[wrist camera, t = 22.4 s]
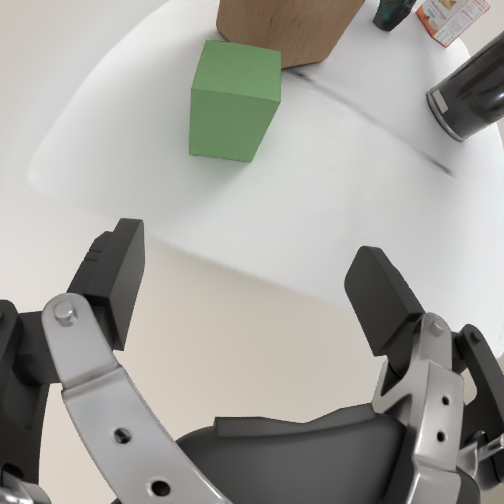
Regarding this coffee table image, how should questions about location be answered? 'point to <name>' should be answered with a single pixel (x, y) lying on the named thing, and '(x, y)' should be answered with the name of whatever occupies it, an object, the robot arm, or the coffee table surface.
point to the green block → (233, 99)
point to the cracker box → (450, 17)
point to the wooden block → (287, 26)
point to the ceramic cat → (392, 13)
